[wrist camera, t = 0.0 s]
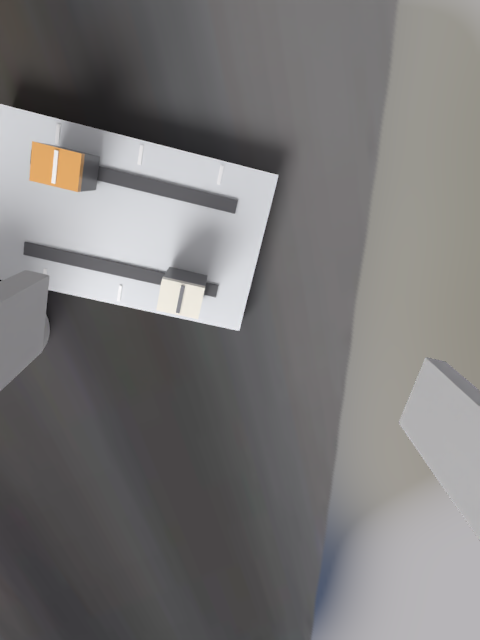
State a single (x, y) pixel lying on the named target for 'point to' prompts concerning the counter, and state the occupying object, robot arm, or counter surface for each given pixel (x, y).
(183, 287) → the fader cream
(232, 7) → the counter surface
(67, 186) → the fader orange
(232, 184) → the panel
